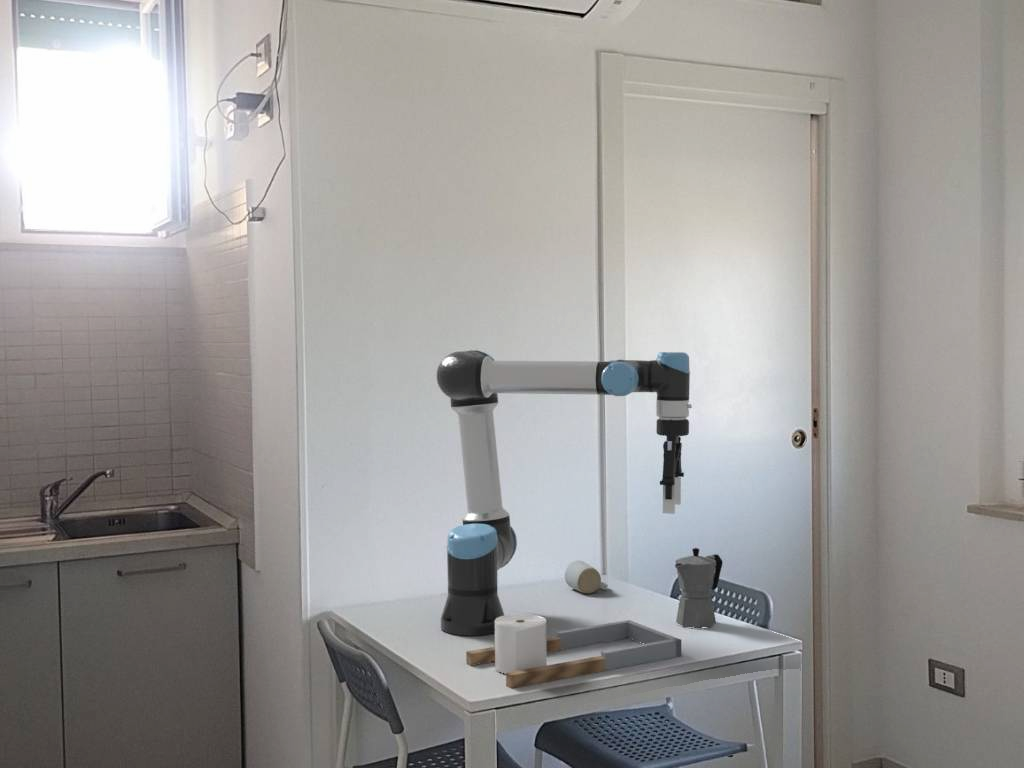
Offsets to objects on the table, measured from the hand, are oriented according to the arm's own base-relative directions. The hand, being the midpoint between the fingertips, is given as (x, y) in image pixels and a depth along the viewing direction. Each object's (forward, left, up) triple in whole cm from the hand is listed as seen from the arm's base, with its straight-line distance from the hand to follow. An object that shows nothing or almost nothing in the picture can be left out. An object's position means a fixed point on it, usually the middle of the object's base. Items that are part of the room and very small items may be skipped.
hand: (671, 508), depth 259 cm
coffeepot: (+6, +2, -28) cm, 28 cm away
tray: (-11, -25, -27) cm, 39 cm away
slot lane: (-26, -38, -27) cm, 54 cm away
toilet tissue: (-29, -40, -28) cm, 56 cm away
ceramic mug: (-24, +31, -28) cm, 48 cm away
